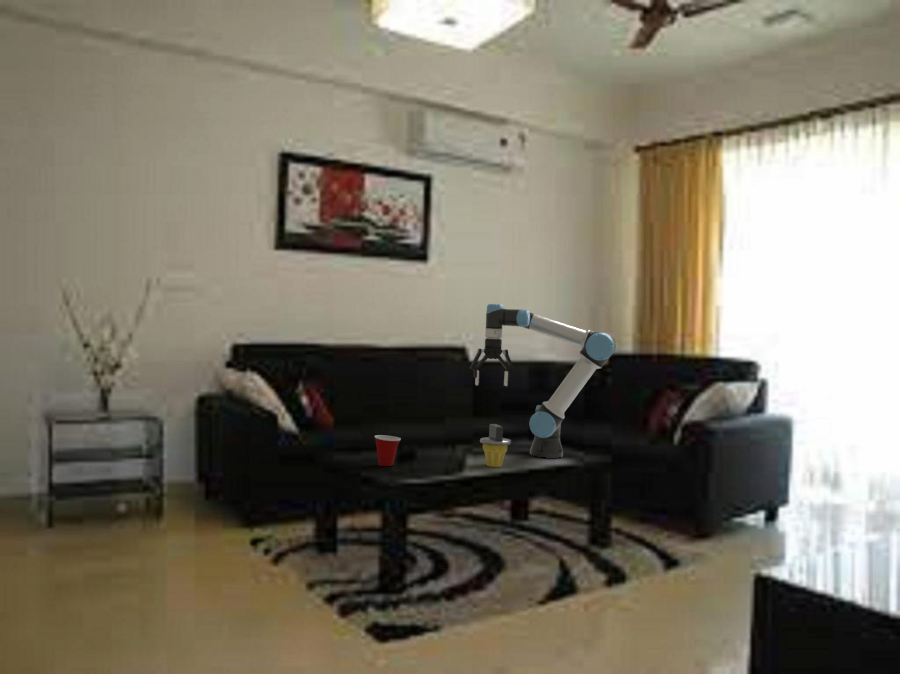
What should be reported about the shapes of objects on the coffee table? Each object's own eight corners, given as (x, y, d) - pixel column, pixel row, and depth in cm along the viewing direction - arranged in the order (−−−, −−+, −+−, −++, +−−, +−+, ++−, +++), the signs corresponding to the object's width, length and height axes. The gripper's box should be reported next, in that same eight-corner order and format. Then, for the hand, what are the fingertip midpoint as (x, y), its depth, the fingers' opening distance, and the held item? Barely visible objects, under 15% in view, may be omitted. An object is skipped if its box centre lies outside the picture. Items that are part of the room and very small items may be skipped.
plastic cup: (401, 468, 322) (402, 438, 322) (374, 468, 320) (375, 438, 320) (398, 463, 333) (399, 434, 332) (372, 463, 331) (373, 434, 331)
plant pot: (504, 468, 332) (505, 445, 332) (480, 466, 334) (481, 443, 334) (507, 464, 342) (509, 441, 342) (484, 462, 344) (485, 439, 344)
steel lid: (505, 440, 346) (505, 423, 346) (515, 445, 333) (516, 428, 333) (476, 440, 342) (477, 423, 342) (485, 445, 330) (486, 427, 330)
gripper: (468, 337, 354) (466, 385, 355) (522, 339, 360) (520, 386, 360) (464, 337, 361) (462, 383, 362) (517, 339, 367) (514, 385, 368)
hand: (491, 385), depth 361 cm, fingers open, 13 cm apart
